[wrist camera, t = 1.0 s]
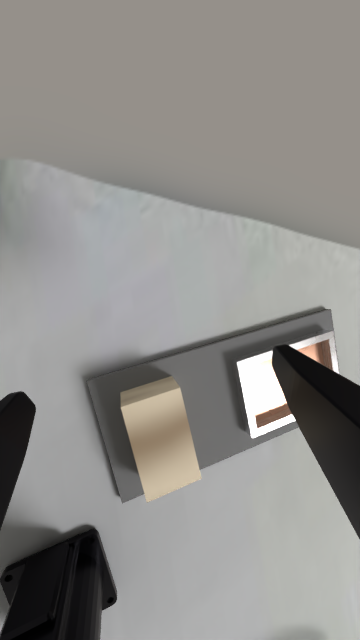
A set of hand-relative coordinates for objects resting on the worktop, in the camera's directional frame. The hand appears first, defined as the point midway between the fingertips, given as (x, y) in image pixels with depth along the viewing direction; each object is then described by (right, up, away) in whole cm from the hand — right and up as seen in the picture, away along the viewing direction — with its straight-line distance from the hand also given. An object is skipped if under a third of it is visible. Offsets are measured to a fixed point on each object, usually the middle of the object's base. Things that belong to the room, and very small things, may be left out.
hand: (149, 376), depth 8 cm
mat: (+6, -5, +12) cm, 14 cm away
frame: (+11, -3, +12) cm, 17 cm away
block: (-1, -6, +10) cm, 11 cm away
